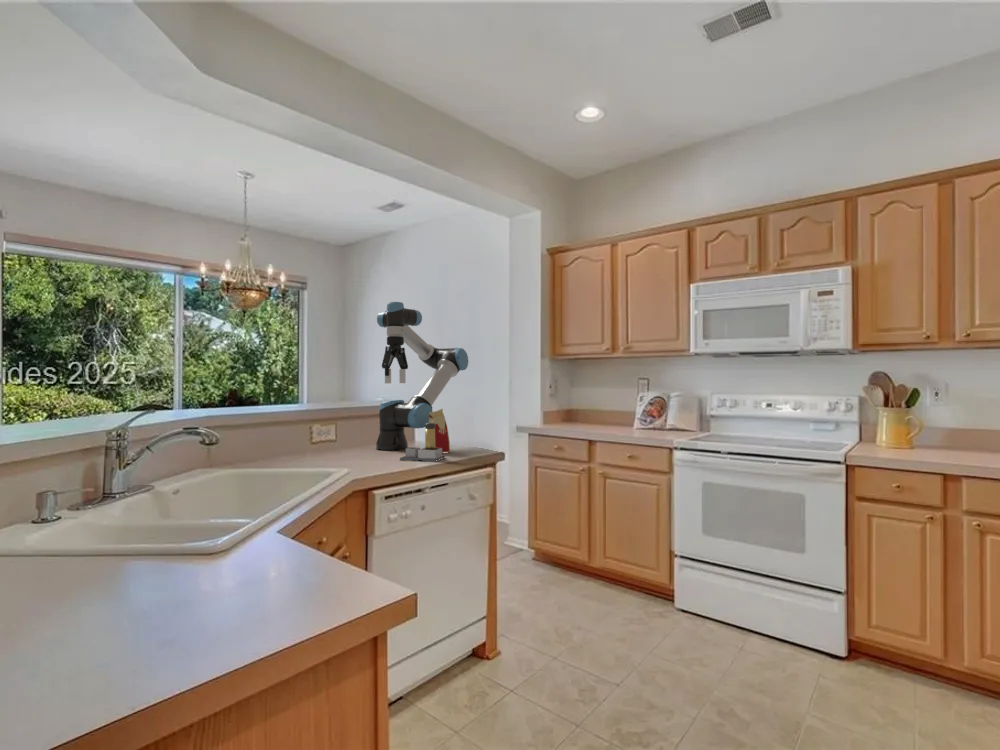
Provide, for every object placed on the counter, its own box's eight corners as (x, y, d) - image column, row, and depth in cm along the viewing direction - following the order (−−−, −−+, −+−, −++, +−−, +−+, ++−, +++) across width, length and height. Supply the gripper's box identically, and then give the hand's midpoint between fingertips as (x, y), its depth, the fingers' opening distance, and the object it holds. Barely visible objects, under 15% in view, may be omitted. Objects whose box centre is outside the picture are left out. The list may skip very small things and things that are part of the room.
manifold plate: (410, 456, 223) (410, 446, 223) (445, 458, 218) (445, 447, 218) (399, 460, 213) (399, 449, 213) (435, 461, 209) (435, 450, 209)
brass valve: (427, 456, 217) (427, 423, 217) (436, 456, 216) (436, 423, 216) (423, 457, 214) (423, 423, 214) (432, 458, 212) (432, 424, 212)
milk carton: (442, 450, 242) (442, 408, 242) (450, 453, 234) (450, 408, 234) (424, 452, 237) (424, 408, 237) (432, 454, 229) (432, 409, 229)
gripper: (389, 333, 220) (389, 383, 220) (415, 338, 244) (415, 383, 244) (373, 334, 222) (373, 383, 222) (400, 338, 246) (400, 383, 246)
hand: (395, 383), depth 233 cm, fingers open, 13 cm apart
